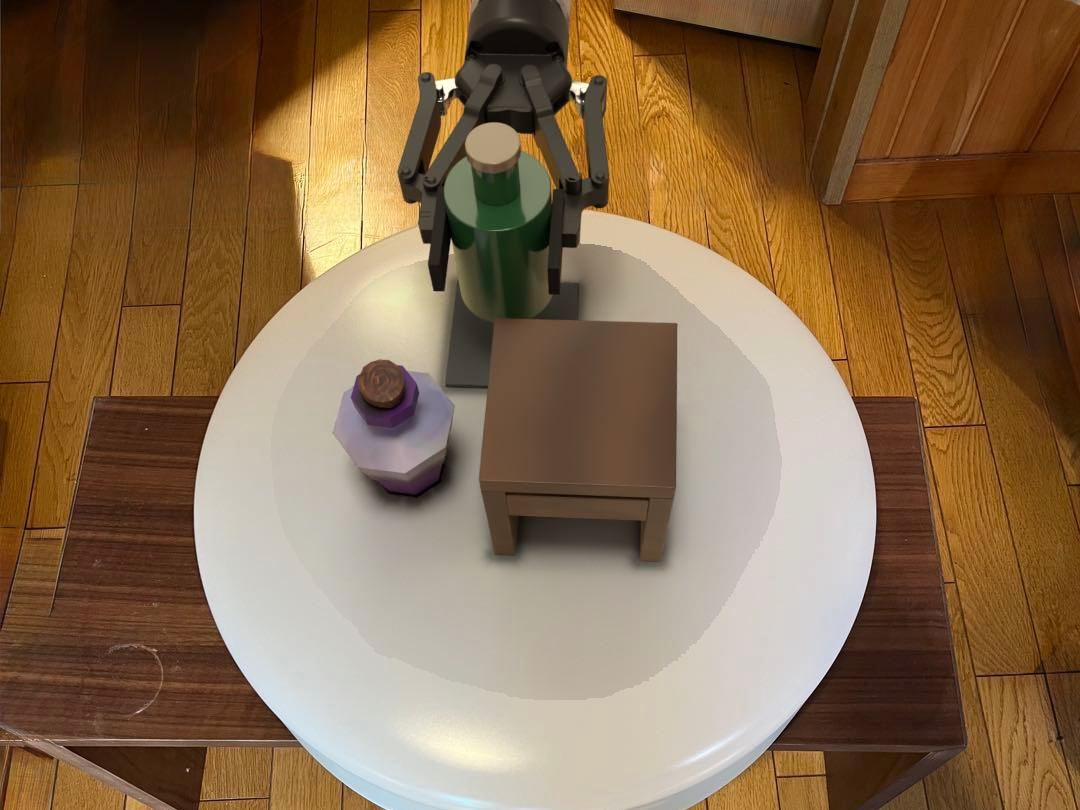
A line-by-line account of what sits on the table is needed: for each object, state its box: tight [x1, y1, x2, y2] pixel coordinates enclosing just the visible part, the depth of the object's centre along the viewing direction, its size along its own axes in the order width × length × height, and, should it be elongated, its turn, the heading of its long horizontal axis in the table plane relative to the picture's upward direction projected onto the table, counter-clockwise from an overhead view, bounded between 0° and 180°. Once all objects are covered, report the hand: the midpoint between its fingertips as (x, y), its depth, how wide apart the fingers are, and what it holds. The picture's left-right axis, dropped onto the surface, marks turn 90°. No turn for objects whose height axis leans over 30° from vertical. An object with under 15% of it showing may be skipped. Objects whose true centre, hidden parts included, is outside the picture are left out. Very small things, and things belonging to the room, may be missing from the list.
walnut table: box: [478, 318, 678, 562], centre depth 67 cm, size 12×12×12 cm
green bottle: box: [444, 122, 553, 323], centre depth 65 cm, size 7×7×14 cm
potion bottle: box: [332, 358, 456, 499], centre depth 68 cm, size 9×9×12 cm
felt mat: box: [444, 279, 580, 389], centre depth 77 cm, size 10×10×1 cm
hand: (494, 279), depth 63 cm, fingers closed on green bottle, 7 cm apart
